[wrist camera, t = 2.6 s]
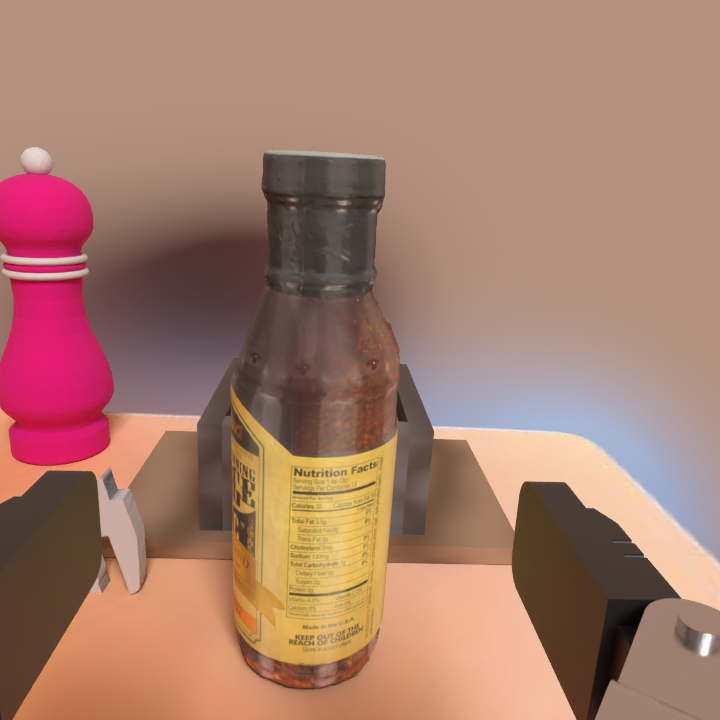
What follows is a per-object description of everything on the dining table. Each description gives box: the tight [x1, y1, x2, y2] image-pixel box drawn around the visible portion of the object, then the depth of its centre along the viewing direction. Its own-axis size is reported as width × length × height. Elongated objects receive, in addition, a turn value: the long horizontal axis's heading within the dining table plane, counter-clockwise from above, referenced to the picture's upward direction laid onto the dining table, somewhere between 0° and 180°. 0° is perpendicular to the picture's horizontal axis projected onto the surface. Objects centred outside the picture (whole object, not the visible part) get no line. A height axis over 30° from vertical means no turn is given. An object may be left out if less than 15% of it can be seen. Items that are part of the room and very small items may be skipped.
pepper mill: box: [0, 148, 114, 465], centre depth 40 cm, size 7×7×20 cm
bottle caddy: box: [102, 358, 515, 565], centre depth 37 cm, size 22×14×7 cm, turn 93°
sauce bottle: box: [231, 150, 400, 689], centre depth 23 cm, size 7×6×20 cm
